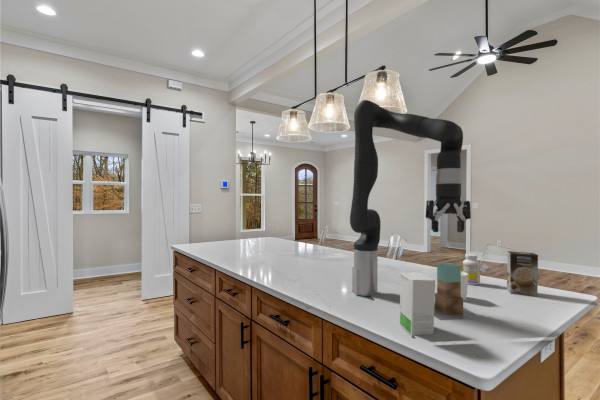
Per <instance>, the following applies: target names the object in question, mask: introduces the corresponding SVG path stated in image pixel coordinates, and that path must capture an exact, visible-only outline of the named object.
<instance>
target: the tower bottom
mask: <svg viewBox="0 0 600 400" xmlns="http://www.w3.org/2000/svg"><path fill="white" fill-rule="evenodd" d="M434 304H435V308H436V309H437V310H439V311H440V312H442V313H444V314H445V315H450V314H463V307H464V300H463V298H462V297H461V298H445V297H443V296H441V295H439V294H437V292H435V301H434Z"/></svg>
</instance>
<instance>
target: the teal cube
mask: <svg viewBox="0 0 600 400" xmlns="http://www.w3.org/2000/svg"><path fill="white" fill-rule="evenodd" d="M461 269H462V266H461V265H459V264H456V263H455V264H454V263H452V262H443V263H441V262H440V263H439V262H438V263H436V280H437V279H440V280H442V281H444V282H461V272H462V271H461Z"/></svg>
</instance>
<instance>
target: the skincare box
mask: <svg viewBox="0 0 600 400" xmlns="http://www.w3.org/2000/svg"><path fill="white" fill-rule="evenodd" d="M399 292H400V293H399V294H400V295H399V297H400V300H399V302H400V303H399V323H398V324H399V326H400V327H401V329H403V331H405V332H406V333H407V335H409V336H410V338H416V335H417V336H418V335H419V336H420V335H434V331H435V329H434V327H435V326H434V325H435V316H434V304H435V293H436V280H435V279H434V278H431V277H430V276H429V275H426V274H424V273H422V272H413V271H412V272H400V291H399Z"/></svg>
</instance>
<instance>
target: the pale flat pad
mask: <svg viewBox="0 0 600 400" xmlns="http://www.w3.org/2000/svg"><path fill="white" fill-rule="evenodd" d="M434 318H437V319H438V320H440V321H450V320H451V321H452V320H453V321H455V320H481V319H485V318H484V317H482V316H480V315H478V314H477V313H475V312H473V311H471V310H469V309H467V308H465V307H464V306H463V314H450V315H445V314H444V313H442V312H440V311H439V310H437V309H436V308H435V303H434Z"/></svg>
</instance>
